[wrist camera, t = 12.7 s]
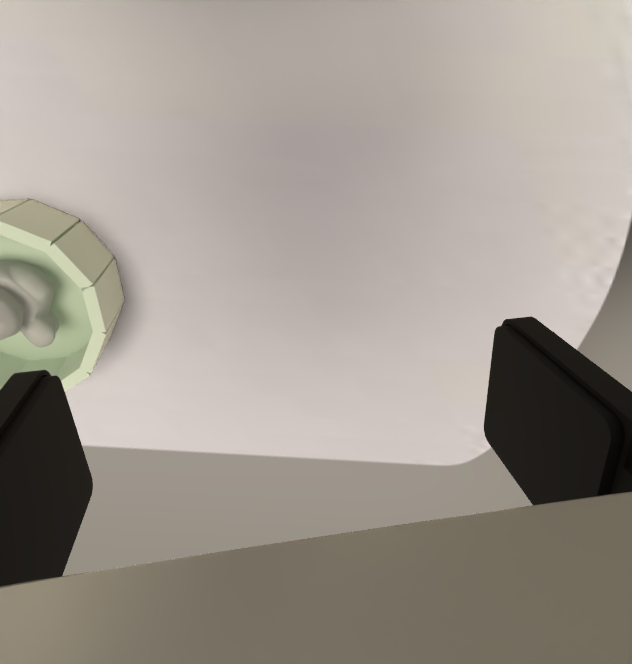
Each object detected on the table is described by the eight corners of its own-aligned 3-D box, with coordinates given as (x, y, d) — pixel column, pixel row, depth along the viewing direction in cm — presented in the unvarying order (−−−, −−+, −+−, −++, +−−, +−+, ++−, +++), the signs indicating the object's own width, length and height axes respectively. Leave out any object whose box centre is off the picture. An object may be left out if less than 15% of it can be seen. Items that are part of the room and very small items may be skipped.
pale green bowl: (-95, 207, 34) (-158, 229, 28) (99, 193, 35) (74, 211, 30) (-29, 370, 39) (-71, 414, 34) (137, 352, 40) (121, 392, 35)
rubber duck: (17, 233, 34) (-41, 270, 27) (92, 302, 37) (57, 352, 30) (-37, 280, 35) (-107, 328, 28) (40, 345, 38) (-6, 403, 31)
